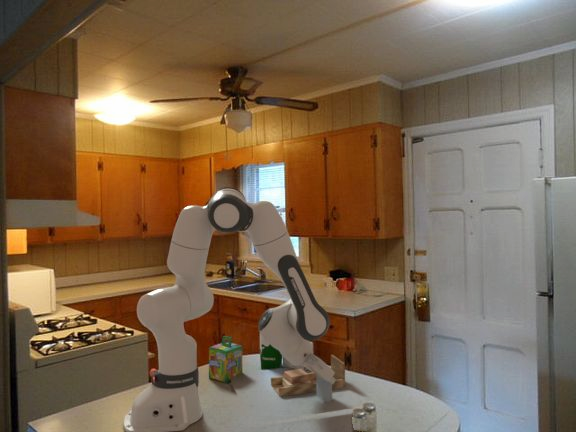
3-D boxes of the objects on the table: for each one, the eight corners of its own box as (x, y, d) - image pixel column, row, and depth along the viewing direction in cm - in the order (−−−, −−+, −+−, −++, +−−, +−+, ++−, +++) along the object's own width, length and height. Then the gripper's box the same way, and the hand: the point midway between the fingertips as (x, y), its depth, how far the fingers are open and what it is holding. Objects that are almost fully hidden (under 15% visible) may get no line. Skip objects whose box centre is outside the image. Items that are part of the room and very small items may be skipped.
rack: (279, 400, 141) (279, 371, 141) (270, 388, 150) (270, 361, 150) (345, 390, 148) (344, 363, 148) (333, 379, 158) (332, 354, 158)
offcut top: (291, 384, 144) (291, 377, 144) (284, 378, 150) (283, 371, 150) (308, 381, 147) (308, 374, 147) (300, 375, 152) (300, 368, 152)
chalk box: (208, 378, 160) (207, 338, 160) (225, 371, 168) (224, 332, 168) (226, 383, 155) (226, 342, 155) (243, 375, 163) (243, 336, 163)
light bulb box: (314, 369, 168) (313, 341, 168) (303, 374, 163) (303, 346, 163) (293, 363, 175) (292, 337, 175) (281, 368, 170) (281, 340, 170)
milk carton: (284, 363, 176) (283, 313, 176) (280, 371, 167) (279, 319, 167) (263, 362, 177) (262, 313, 177) (258, 370, 168) (257, 318, 168)
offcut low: (288, 393, 143) (288, 385, 143) (282, 385, 150) (282, 378, 150) (311, 389, 146) (311, 382, 146) (304, 382, 152) (304, 375, 152)
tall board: (323, 406, 136) (323, 371, 136) (316, 399, 141) (316, 365, 141) (332, 404, 137) (331, 369, 137) (325, 397, 142) (324, 364, 142)
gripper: (320, 351, 127) (349, 379, 131) (290, 334, 145) (316, 359, 149) (307, 369, 125) (336, 396, 129) (278, 349, 143) (305, 374, 148)
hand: (325, 376), depth 139 cm, fingers open, 8 cm apart
